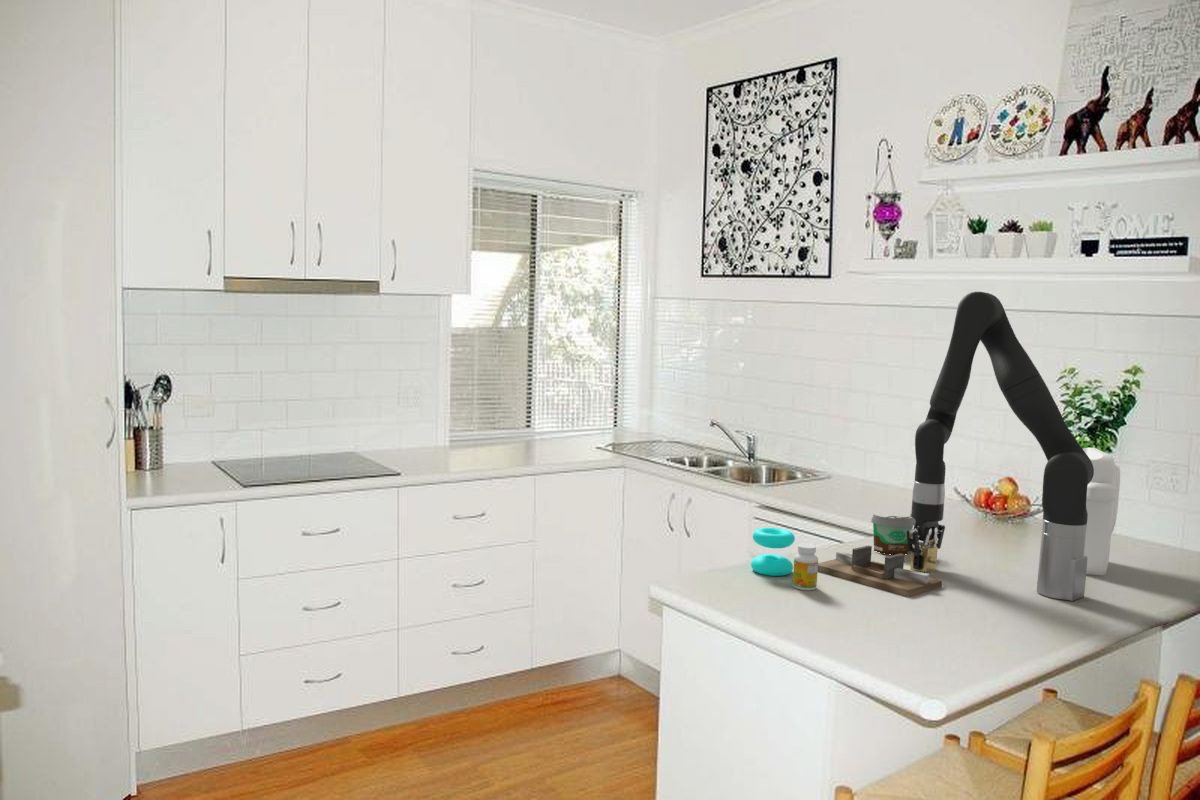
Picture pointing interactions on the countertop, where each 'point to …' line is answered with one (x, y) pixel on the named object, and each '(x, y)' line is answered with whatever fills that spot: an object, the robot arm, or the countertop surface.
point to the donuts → (770, 562)
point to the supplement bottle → (805, 568)
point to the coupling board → (879, 572)
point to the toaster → (1101, 510)
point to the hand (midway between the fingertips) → (923, 567)
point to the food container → (891, 534)
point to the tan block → (927, 559)
